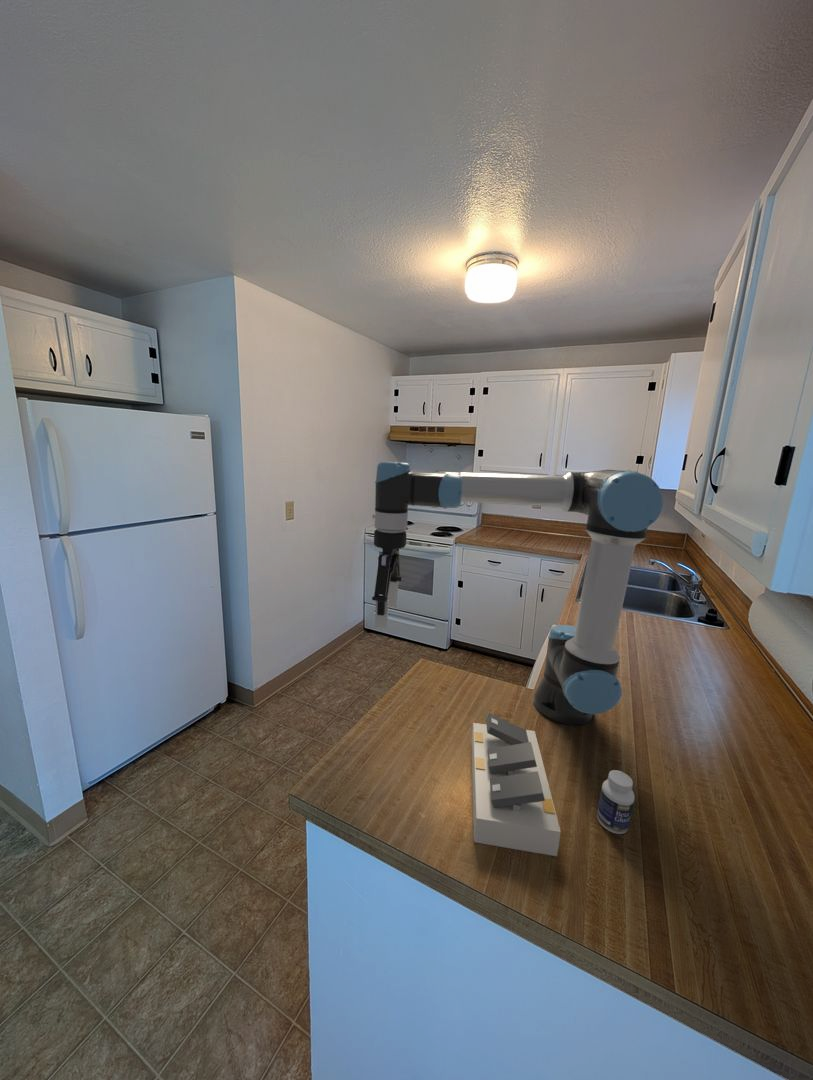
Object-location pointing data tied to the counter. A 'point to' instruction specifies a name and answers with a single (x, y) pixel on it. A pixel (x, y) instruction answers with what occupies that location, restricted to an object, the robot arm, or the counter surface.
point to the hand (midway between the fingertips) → (386, 616)
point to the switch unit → (515, 823)
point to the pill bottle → (616, 802)
